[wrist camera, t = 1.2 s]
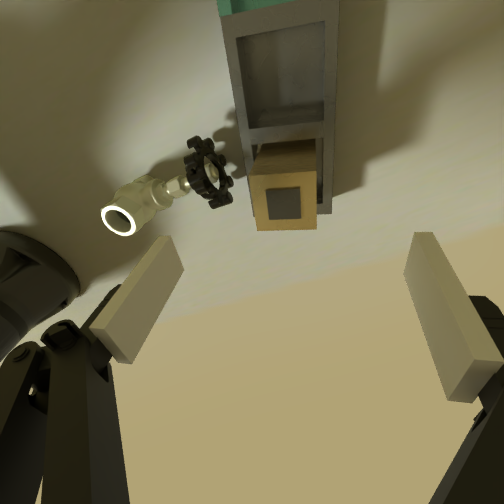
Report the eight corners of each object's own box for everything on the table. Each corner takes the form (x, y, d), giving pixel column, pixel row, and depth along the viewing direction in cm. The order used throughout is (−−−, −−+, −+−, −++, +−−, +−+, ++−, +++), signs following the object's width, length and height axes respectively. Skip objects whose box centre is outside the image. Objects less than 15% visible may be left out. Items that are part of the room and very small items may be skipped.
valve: (154, 218, 33) (240, 186, 28) (126, 252, 28) (224, 220, 23) (117, 169, 30) (208, 124, 25) (78, 198, 25) (182, 148, 20)
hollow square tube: (268, 188, 27) (256, 232, 21) (263, 141, 24) (247, 177, 19) (315, 185, 26) (316, 230, 20) (315, 136, 23) (316, 172, 18)
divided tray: (258, 202, 29) (253, 217, 27) (207, -138, 16) (188, -168, 13) (330, 198, 27) (331, 214, 25) (342, -186, 14) (348, -230, 12)
